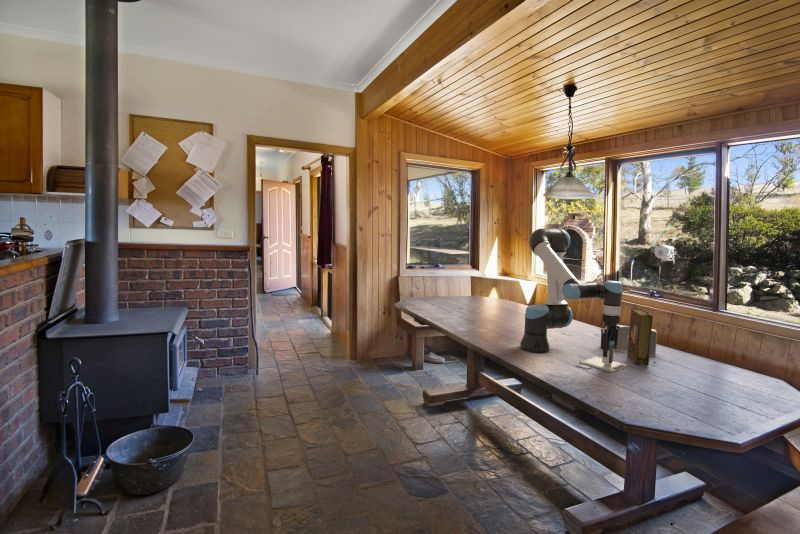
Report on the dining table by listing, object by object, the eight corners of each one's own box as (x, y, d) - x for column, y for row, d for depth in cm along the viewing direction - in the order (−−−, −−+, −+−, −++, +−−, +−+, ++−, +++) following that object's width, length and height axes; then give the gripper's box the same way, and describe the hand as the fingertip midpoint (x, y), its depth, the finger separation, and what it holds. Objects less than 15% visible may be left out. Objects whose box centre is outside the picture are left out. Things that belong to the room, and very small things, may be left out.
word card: (575, 365, 215) (575, 365, 215) (579, 364, 218) (579, 363, 217) (587, 369, 210) (587, 368, 210) (591, 367, 213) (591, 366, 213)
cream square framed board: (579, 363, 219) (579, 360, 219) (595, 357, 229) (595, 354, 228) (612, 372, 207) (612, 369, 207) (627, 366, 216) (627, 363, 216)
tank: (654, 349, 246) (656, 326, 245) (655, 357, 232) (657, 333, 231) (604, 342, 258) (606, 321, 257) (602, 349, 244) (604, 326, 242)
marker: (601, 365, 213) (603, 340, 212) (605, 363, 216) (607, 339, 214) (609, 367, 210) (611, 342, 209) (613, 365, 213) (615, 341, 211)
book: (626, 355, 234) (630, 308, 231) (637, 356, 233) (641, 308, 230) (636, 365, 218) (640, 314, 215) (648, 366, 217) (653, 315, 214)
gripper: (610, 317, 202) (606, 368, 205) (627, 313, 213) (624, 361, 215) (594, 314, 208) (590, 363, 210) (612, 310, 218) (608, 357, 221)
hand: (607, 362), depth 213 cm, fingers closed on marker, 4 cm apart
